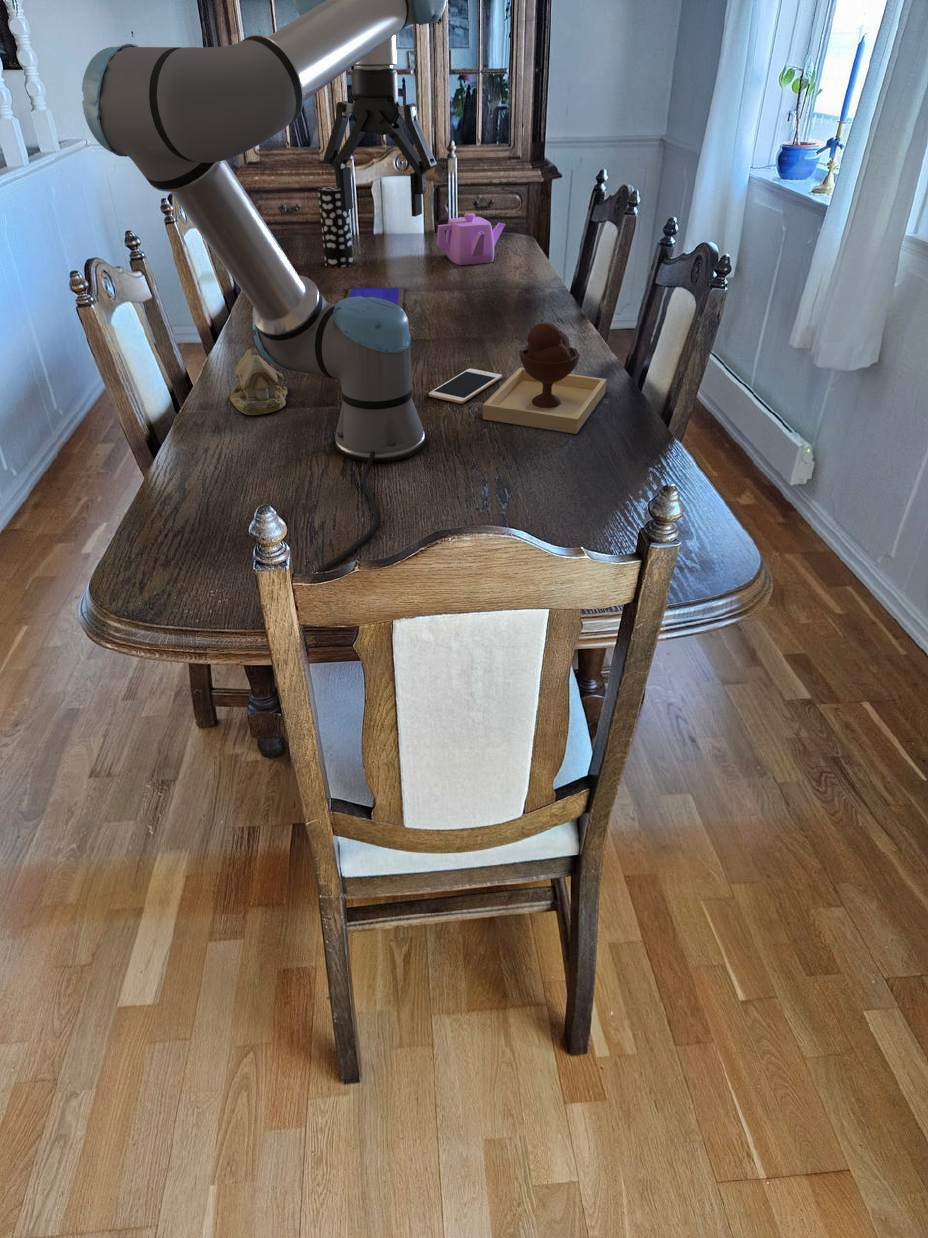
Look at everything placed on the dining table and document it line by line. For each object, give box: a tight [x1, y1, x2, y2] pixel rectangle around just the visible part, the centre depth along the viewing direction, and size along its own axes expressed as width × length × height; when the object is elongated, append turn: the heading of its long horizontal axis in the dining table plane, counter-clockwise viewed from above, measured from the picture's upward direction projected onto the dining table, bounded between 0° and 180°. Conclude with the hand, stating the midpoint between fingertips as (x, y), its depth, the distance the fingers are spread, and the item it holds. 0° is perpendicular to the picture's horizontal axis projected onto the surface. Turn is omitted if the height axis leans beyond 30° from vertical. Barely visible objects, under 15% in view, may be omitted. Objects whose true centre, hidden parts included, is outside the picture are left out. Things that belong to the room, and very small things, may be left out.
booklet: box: [345, 287, 405, 309], centre depth 209 cm, size 12×25×1 cm, turn 1°
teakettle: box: [436, 212, 506, 266], centre depth 244 cm, size 17×17×12 cm
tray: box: [482, 366, 608, 435], centre depth 156 cm, size 21×18×3 cm
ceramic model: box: [229, 347, 288, 416], centre depth 156 cm, size 14×11×10 cm
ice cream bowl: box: [518, 322, 581, 408], centre depth 152 cm, size 11×11×15 cm
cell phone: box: [428, 367, 503, 404], centre depth 164 cm, size 8×16×1 cm, turn 149°
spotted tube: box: [317, 185, 354, 269], centre depth 237 cm, size 8×8×20 cm
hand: (381, 212), depth 146 cm, fingers open, 13 cm apart
